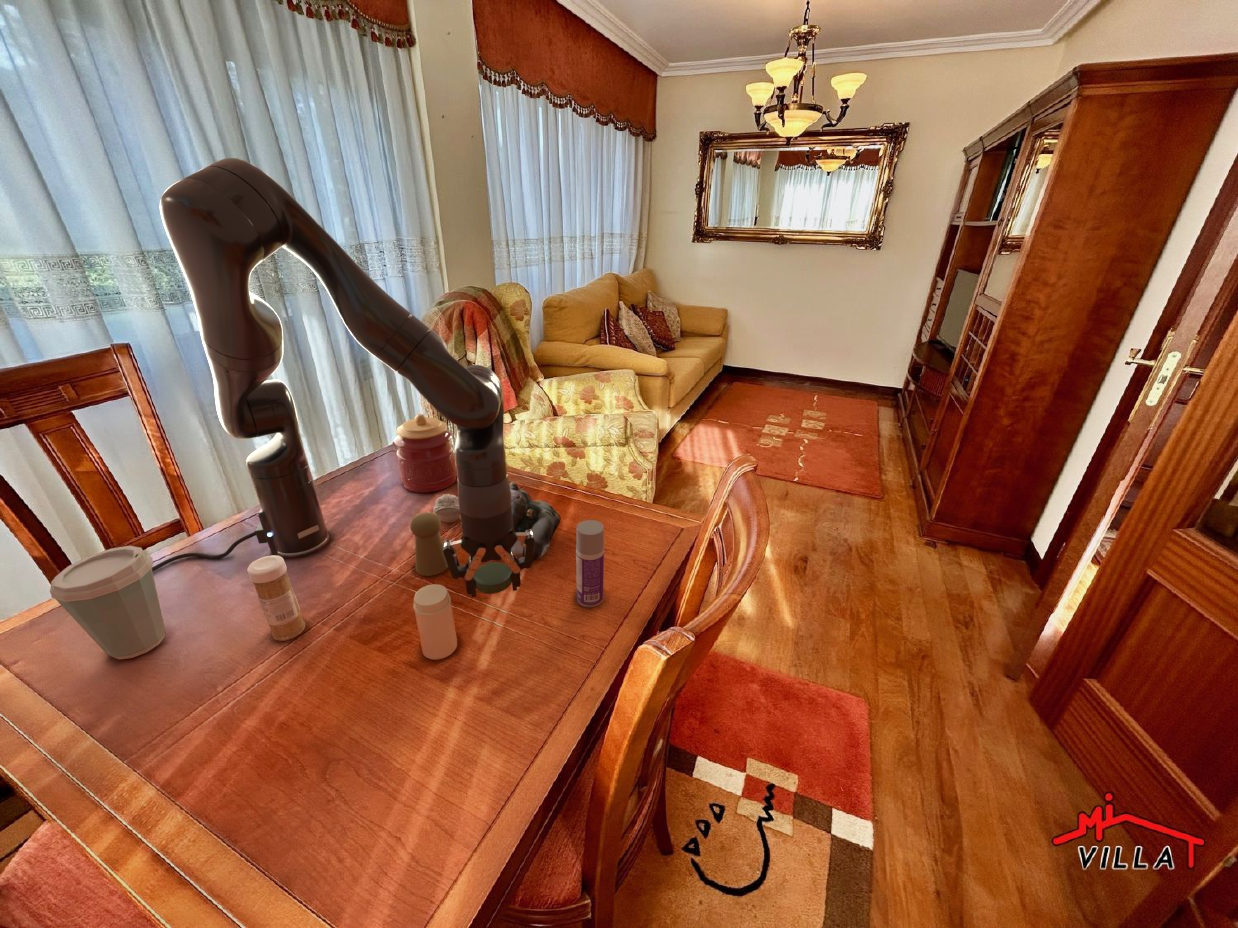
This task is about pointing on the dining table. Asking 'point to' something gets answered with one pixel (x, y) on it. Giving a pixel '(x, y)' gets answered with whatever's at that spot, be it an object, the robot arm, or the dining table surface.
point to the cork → (428, 544)
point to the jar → (435, 621)
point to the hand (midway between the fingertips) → (494, 590)
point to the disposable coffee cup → (114, 600)
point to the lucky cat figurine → (532, 521)
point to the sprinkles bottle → (276, 597)
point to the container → (590, 563)
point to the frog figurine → (447, 508)
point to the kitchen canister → (425, 454)
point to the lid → (492, 578)
